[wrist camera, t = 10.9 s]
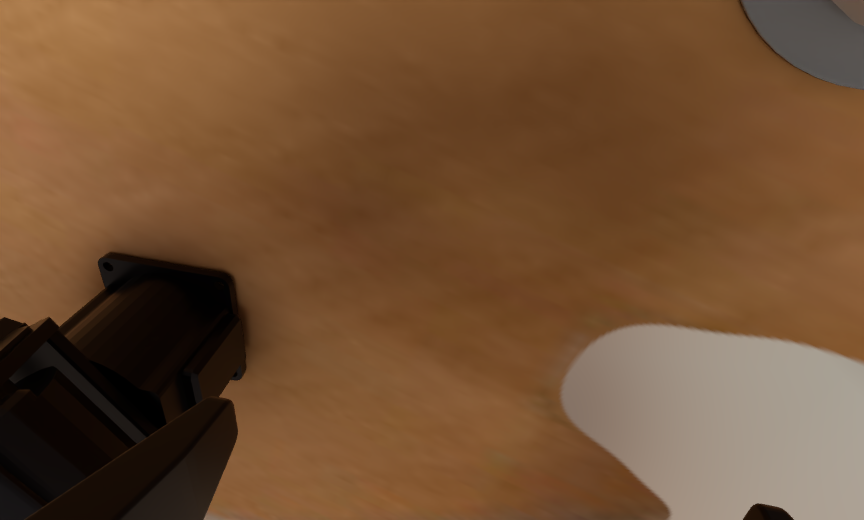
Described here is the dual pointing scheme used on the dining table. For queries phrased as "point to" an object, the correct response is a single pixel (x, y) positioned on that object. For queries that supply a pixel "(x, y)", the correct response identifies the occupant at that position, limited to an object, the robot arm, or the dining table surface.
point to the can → (852, 9)
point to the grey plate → (812, 37)
